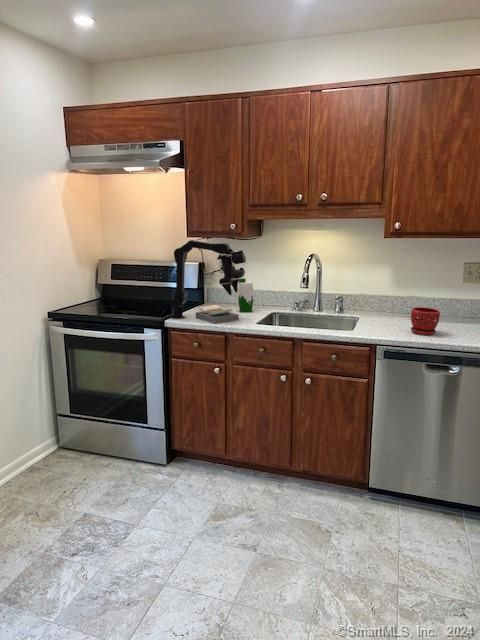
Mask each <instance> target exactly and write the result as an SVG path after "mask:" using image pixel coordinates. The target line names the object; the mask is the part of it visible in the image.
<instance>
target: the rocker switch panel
mask: <svg viewBox="0 0 480 640" xmlns="http://www.w3.org/2000/svg"><path fill="white" fill-rule="evenodd" d="M239 316H240V314H238V313H234V312H232V311H230V312H229V313H224V314H217V315H212V314H209V312H208V313H204V312H202V311H195V318H196V319H199V320H202V321H206V322H208V323H211V324H213V325H214V324H222V323H228V322H233V321H234V322H235V321H239V319H240V317H239Z"/></svg>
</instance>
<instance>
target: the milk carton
mask: <svg viewBox="0 0 480 640" xmlns="http://www.w3.org/2000/svg"><path fill="white" fill-rule="evenodd" d="M239 279H240V280H239V282H238V291H237V293H238V295H237V297H238V310H239V312H240V313H253V306H254V287H253V286H254V285H253V281H252V280H251V281H248V280H246V278H244V277H241V278H239Z"/></svg>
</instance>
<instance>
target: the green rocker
mask: <svg viewBox="0 0 480 640" xmlns="http://www.w3.org/2000/svg"><path fill="white" fill-rule="evenodd" d="M233 311H234V310H233V308H227V309H222V310H220V311H213V312H209V314H212V315H217V314H224V313H229V312H233Z"/></svg>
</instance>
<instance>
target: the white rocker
mask: <svg viewBox="0 0 480 640" xmlns="http://www.w3.org/2000/svg"><path fill="white" fill-rule="evenodd" d="M198 309H199V311H200V312H204V313H208V312H213V311H220V310H224V309H223V307H221V306H219V305H217V304H213V305H206V306H205V305H204V306H200V307H199V308H198Z"/></svg>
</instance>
